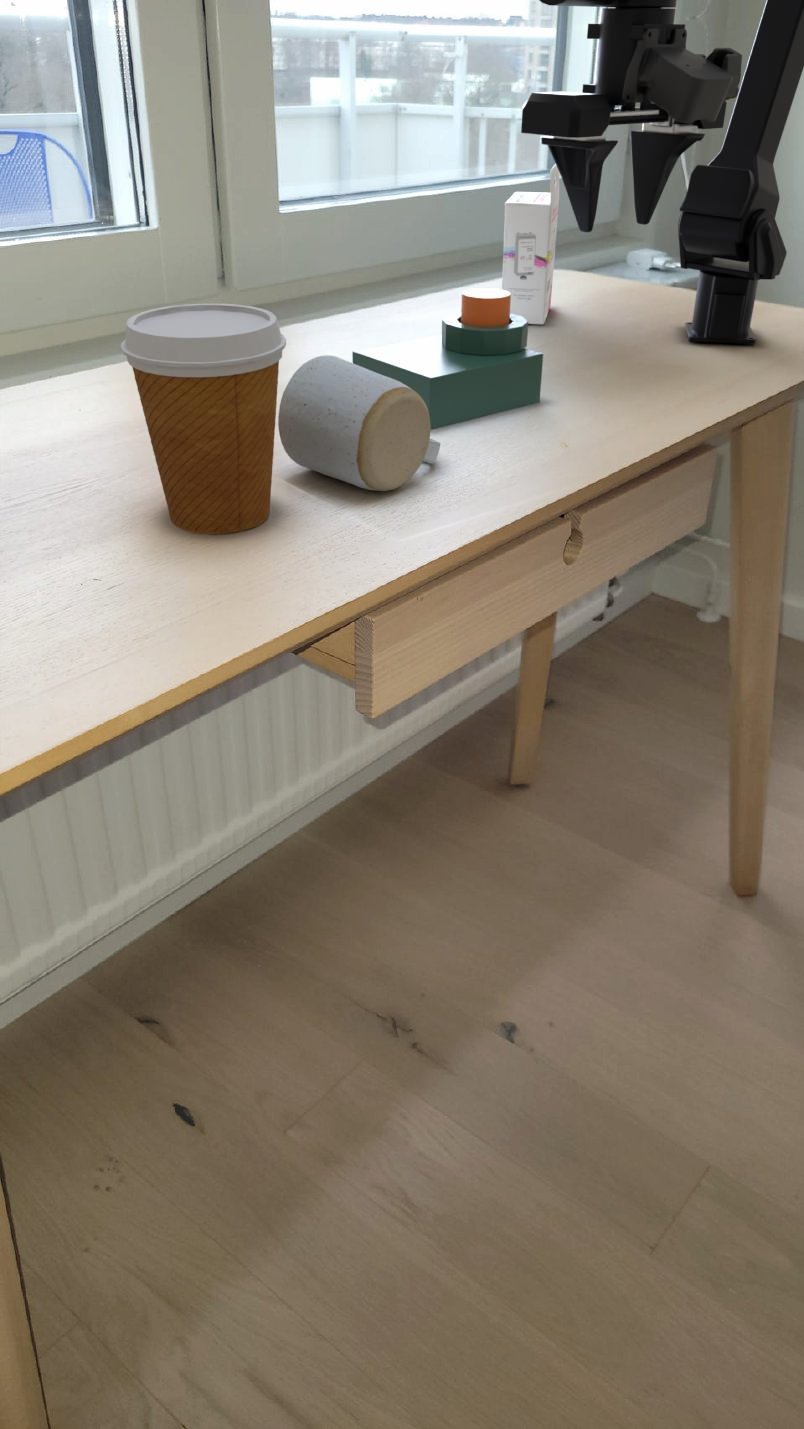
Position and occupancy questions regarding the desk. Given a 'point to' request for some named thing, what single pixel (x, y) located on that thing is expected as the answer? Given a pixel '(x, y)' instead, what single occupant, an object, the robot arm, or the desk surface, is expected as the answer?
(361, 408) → the ceramic mug
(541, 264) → the ink cartridge box
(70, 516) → the desk surface
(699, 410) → the desk surface
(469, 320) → the orange squat cylinder
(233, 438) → the disposable coffee cup
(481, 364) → the green button base
